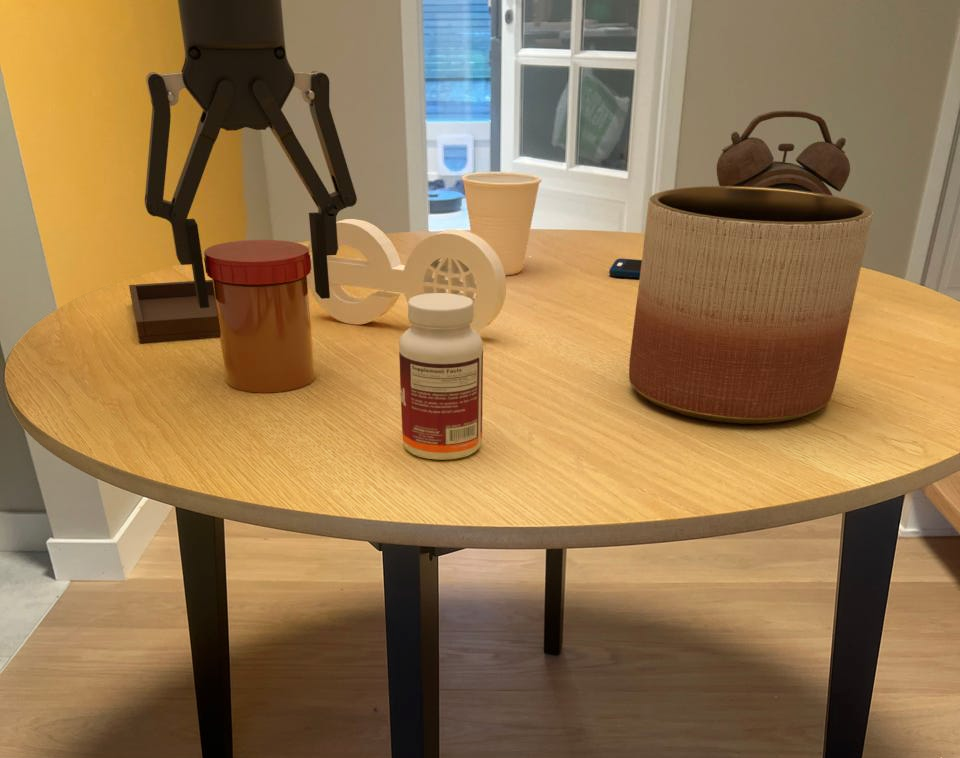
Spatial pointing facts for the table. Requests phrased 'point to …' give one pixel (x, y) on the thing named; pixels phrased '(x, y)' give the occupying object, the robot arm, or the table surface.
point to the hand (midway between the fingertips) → (263, 299)
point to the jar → (265, 335)
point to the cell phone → (626, 268)
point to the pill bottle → (441, 378)
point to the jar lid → (257, 262)
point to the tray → (173, 312)
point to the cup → (502, 212)
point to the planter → (745, 300)
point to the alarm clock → (756, 167)
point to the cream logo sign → (411, 273)
